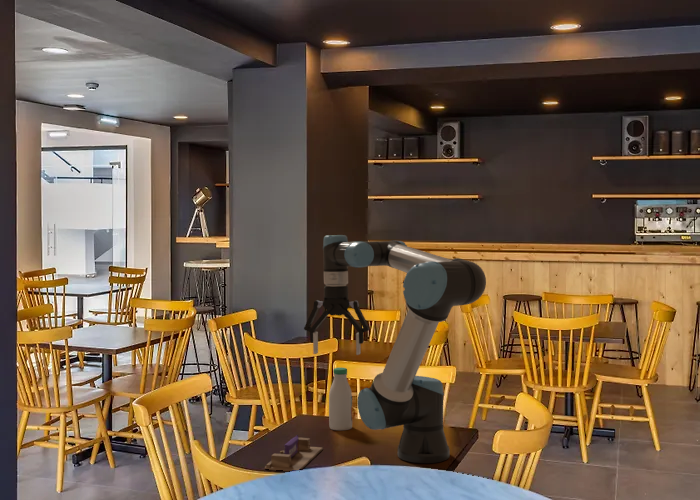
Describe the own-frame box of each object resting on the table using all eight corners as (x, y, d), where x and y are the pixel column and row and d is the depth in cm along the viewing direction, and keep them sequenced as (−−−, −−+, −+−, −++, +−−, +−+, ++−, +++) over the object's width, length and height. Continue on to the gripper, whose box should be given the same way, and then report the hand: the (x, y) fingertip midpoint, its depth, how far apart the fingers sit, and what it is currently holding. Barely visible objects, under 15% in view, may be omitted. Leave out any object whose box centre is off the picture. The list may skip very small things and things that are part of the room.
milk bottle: (350, 431, 252) (349, 370, 251) (327, 430, 253) (326, 370, 253) (354, 425, 260) (353, 366, 259) (331, 424, 261) (331, 366, 260)
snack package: (288, 462, 217) (287, 445, 217) (281, 462, 218) (281, 444, 218) (301, 451, 228) (300, 434, 228) (294, 450, 229) (294, 434, 229)
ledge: (291, 447, 235) (291, 435, 235) (322, 449, 232) (322, 437, 232) (264, 469, 213) (264, 456, 213) (298, 472, 211) (298, 459, 211)
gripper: (293, 285, 236) (294, 354, 237) (373, 286, 231) (374, 356, 231) (300, 284, 243) (301, 350, 244) (378, 284, 238) (378, 352, 238)
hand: (337, 353), depth 238 cm, fingers open, 13 cm apart
